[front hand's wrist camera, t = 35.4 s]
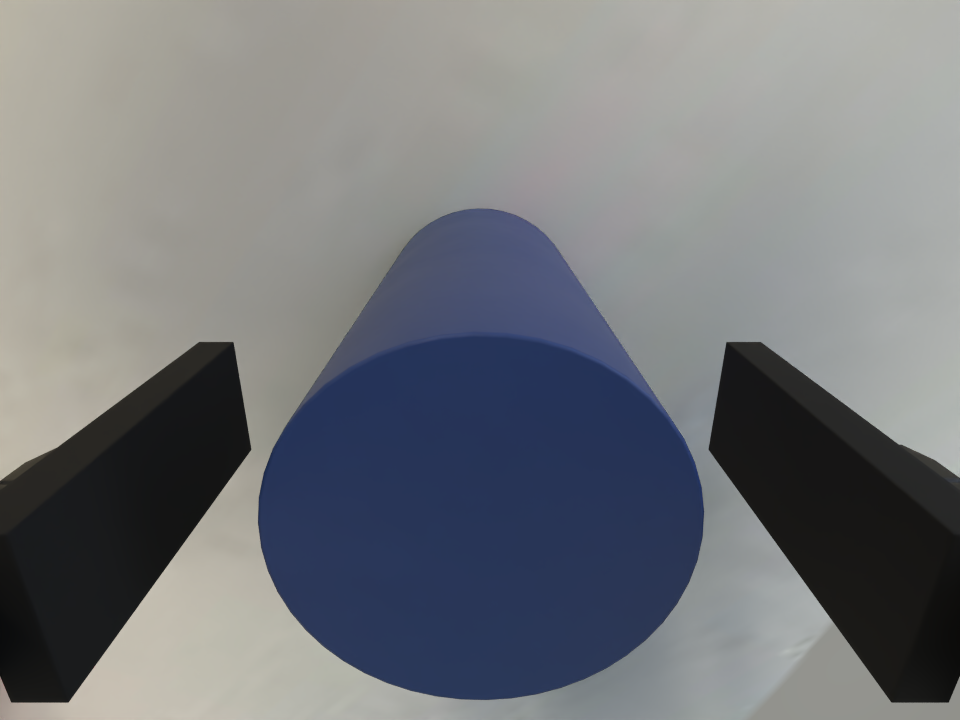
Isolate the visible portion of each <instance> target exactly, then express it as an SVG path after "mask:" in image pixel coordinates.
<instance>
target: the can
mask: <svg viewBox="0 0 960 720" xmlns="http://www.w3.org/2000/svg"><path fill="white" fill-rule="evenodd" d="M703 519H704V507H703V497H702V488H701V484H700V480H699V476H698V472H697V469H696V465H695V462H694V460H693V457H692V455H691V453H690V451H689V449H688V446H687V444H686V442H685V440H684V438H683V436H682V435H681V433H680V432H679V430H678V429H677V427H676V426H675V424H674V423H673V421H672V420H671V418H670V417H669V415H668V414H667V412H666V411H665V409H664V408H663V406H662V405H661V403H660V402H659V400H658V399H657V397H656V396H655V394H654V393H653V391H652V390H651V388H650V387H649V385H648V384H647V382H646V381H645V379H644V378H643V376H642V375H641V373H640V372H639V370H638V369H637V367H636V366H635V364H634V363H633V361H632V360H631V358H630V357H629V355H628V354H627V352H626V351H625V349H624V348H623V346H622V345H621V344H620V342H619V341H618V339H617V338H616V336H615V335H614V333H613V332H612V330H611V329H610V327H609V326H608V324H607V323H606V321H605V320H604V318H603V317H602V315H601V314H600V312H599V311H598V309H597V308H596V306H595V305H594V303H593V302H592V300H591V299H590V297H589V296H588V294H587V293H586V291H585V290H584V288H583V287H582V285H581V284H580V282H579V281H578V279H577V278H576V276H575V275H574V273H573V272H572V270H571V269H570V267H569V266H568V264H567V263H566V261H565V260H564V258H563V257H562V255H561V254H560V252H559V251H558V249H557V248H556V246H555V245H554V244H553V243H552V241H551V240H550V239H549V238H548V237H547V236H546V235H545V234H544V233H543V232H542V231H540V230H539V229H538V228H537V227H536V226H534V225H532V224H531V223H529V222H528V221H526V220H524V219H522V218H520V217H518V216H516V215H513V214H510V213H507V212H503V211H498V210H492V209H469V210H462V211H458V212H454V213H451V214H448V215H446V216H443V217H440V218H439V219H437V220H435V221H433V222H431V223H430V224H428V225H427V226H425V227H424V228H423V229H421V230H420V231H419V232H418V233H417V234H416V235H415V236H414V237H413V238H412V239H411V240H410V241H409V242H408V244H407V245H406V246H405V248H404V249H403V250H402V252H401V253H400V255H399V256H398V258H397V259H396V261H395V262H394V264H393V265H392V267H391V268H390V270H389V271H388V273H387V274H386V276H385V277H384V279H383V280H382V282H381V283H380V285H379V286H378V288H377V289H376V291H375V292H374V294H373V295H372V297H371V298H370V300H369V302H368V303H367V305H366V306H365V308H364V309H363V311H362V312H361V314H360V315H359V317H358V318H357V320H356V321H355V323H354V324H353V326H352V327H351V329H350V330H349V332H348V333H347V335H346V336H345V338H344V339H343V341H342V342H341V344H340V345H339V347H338V348H337V350H336V351H335V353H334V354H333V356H332V357H331V359H330V360H329V362H328V363H327V365H326V366H325V368H324V369H323V371H322V372H321V374H320V375H319V377H318V378H317V380H316V381H315V383H314V384H313V386H312V387H311V389H310V390H309V392H308V393H307V395H306V396H305V398H304V399H303V401H302V402H301V404H300V405H299V407H298V408H297V410H296V411H295V413H294V414H293V416H292V417H291V419H290V421H289V422H288V424H287V425H286V427H285V428H284V430H283V432H282V434H281V435H280V437H279V439H278V441H277V443H276V444H275V446H274V448H273V450H272V453H271V455H270V458H269V461H268V463H267V466H266V469H265V471H264V475H263V480H262V485H261V490H260V495H259V511H258V525H259V533H260V541H261V548H262V552H263V555H264V559H265V562H266V566H267V569H268V572H269V574H270V576H271V578H272V581H273V583H274V585H275V587H276V589H277V592H278V593H279V595H280V596H281V598H282V599H283V601H284V603H285V604H286V606H287V607H288V609H289V610H290V612H291V613H292V614H293V616H294V617H295V618H296V619H297V620H298V621H299V623H300V624H301V625H302V626H303V627H304V629H305V630H306V631H307V632H308V633H309V634H311V635H312V636H313V637H314V638H315V639H316V640H317V641H318V642H319V643H320V644H321V645H322V646H324V647H325V648H326V649H328V650H329V651H330V652H332V653H333V654H334V655H336V656H337V657H339V658H340V659H341V660H343V661H344V662H346V663H348V664H350V665H351V666H353V667H355V668H357V669H358V670H360V671H362V672H364V673H366V674H368V675H370V676H372V677H375V678H377V679H379V680H381V681H384V682H386V683H389V684H392V685H395V686H398V687H401V688H404V689H407V690H410V691H414V692H419V693H423V694H428V695H433V696H438V697H446V698H455V699H470V700H493V699H508V698H516V697H522V696H528V695H535V694H539V693H543V692H547V691H551V690H554V689H558V688H562V687H564V686H567V685H570V684H572V683H575V682H578V681H580V680H583V679H585V678H587V677H589V676H591V675H594V674H596V673H598V672H600V671H602V670H604V669H606V668H607V667H609V666H611V665H612V664H614V663H615V662H617V661H618V660H620V659H622V658H623V657H625V656H626V655H628V654H629V653H630V652H631V651H633V650H634V649H635V648H636V647H638V646H639V645H640V644H641V643H643V642H644V641H645V640H646V639H647V638H648V637H649V636H650V635H651V634H652V633H653V632H654V631H655V630H656V629H657V628H658V627H659V626H660V625H661V624H662V623H663V622H664V620H665V619H666V618H667V616H668V615H669V614H670V612H671V611H672V610H673V608H674V607H675V606H676V604H677V603H678V601H679V599H680V598H681V596H682V594H683V592H684V590H685V589H686V587H687V585H688V583H689V581H690V578H691V576H692V573H693V571H694V568H695V565H696V563H697V560H698V555H699V551H700V546H701V541H702V536H703Z"/></svg>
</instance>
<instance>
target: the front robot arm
mask: <svg viewBox="0 0 960 720" xmlns="http://www.w3.org/2000/svg"><path fill="white" fill-rule="evenodd" d="M250 451H251V445H250V439H249V433H248V427H247V421H246V415H245V409H244V403H243V397H242V391H241V385H240V379H239V373H238V367H237V361H236V355H235V349H234V343H233V342H199V343H197V344H196V345H195V346H193V347H192V348H191V349H189V350H188V351H187V352H185V353H184V354H183V355H181V356H180V357H179V358H177V359H176V360H175V361H173V362H172V363H171V364H169V365H168V366H166V367H165V368H164V369H162V370H161V371H160V372H158V373H157V374H156V375H154V376H153V377H152V378H150V379H149V380H148V381H146V382H145V383H144V384H142V385H141V386H140V387H138V388H137V389H136V390H134V391H133V392H132V393H130V394H129V395H127V396H126V397H125V398H123V399H122V400H121V401H119V402H118V403H117V404H115V405H114V406H113V407H111V408H110V409H109V410H107V411H106V412H105V413H103V414H102V415H101V416H99V417H98V418H97V419H95V420H94V421H92V422H91V423H90V424H88V425H87V426H86V427H84V428H83V429H82V430H80V431H79V432H78V433H76V434H75V435H74V436H72V437H71V438H70V439H68V440H67V441H66V442H64V443H63V444H62V445H60V446H59V447H57V448H56V449H53V450H51V451H49V452H47V453H45V454H43V455H41V456H38V457H36V458H34V459H32V460H30V461H28V462H26V463H24V464H23V465H21V466H20V467H19V468H17V469H16V470H15V471H13V472H12V473H10V474H9V475H8V476H6V477H5V478H4V479H2V480H1V481H0V677H1V679H2V681H3V684H4V686H5V689H6V691H7V693H8V696H9V698H10V700H11V702H69V701H70V700H71V698H72V697H73V695H74V694H75V693H76V691H77V690H78V689H79V687H80V686H81V684H82V683H83V682H84V680H85V679H86V677H87V676H88V675H89V673H90V672H91V671H92V669H93V668H94V666H95V665H96V664H97V662H98V661H99V659H100V658H101V657H102V655H103V654H104V653H105V651H106V650H107V648H108V647H109V646H110V644H111V643H112V642H113V640H114V639H115V637H116V636H117V635H118V633H119V632H120V630H121V629H122V628H123V626H124V625H125V624H126V622H127V621H128V619H129V618H130V617H131V615H132V614H133V612H134V611H135V610H136V608H137V607H138V606H139V604H140V603H141V601H142V600H143V599H144V597H145V596H146V595H147V593H148V592H149V590H150V589H151V588H152V586H153V585H154V583H155V582H156V581H157V579H158V578H159V577H160V575H161V574H162V572H163V571H164V570H165V568H166V567H167V565H168V564H169V563H170V561H171V560H172V559H173V557H174V556H175V554H176V553H177V552H178V550H179V549H180V548H181V546H182V545H183V543H184V542H185V541H186V539H187V538H188V536H189V535H190V534H191V532H192V531H193V530H194V528H195V527H196V525H197V524H198V523H199V521H200V520H201V518H202V517H203V516H204V514H205V513H206V512H207V510H208V509H209V507H210V506H211V505H212V503H213V502H214V501H215V499H216V498H217V496H218V495H219V494H220V492H221V491H222V489H223V488H224V487H225V485H226V484H227V483H228V481H229V480H230V478H231V477H232V476H233V474H234V473H235V472H236V470H237V469H238V467H239V466H240V465H241V463H242V462H243V460H244V459H245V458H246V456H247V455H248V454H249V452H250ZM709 451H710V452H711V454H712V455H713V456H714V458H715V459H716V460H717V462H718V463H719V465H720V466H721V467H722V469H723V470H724V472H725V473H726V474H727V476H728V477H729V478H730V480H731V481H732V483H733V484H734V485H735V487H736V488H737V489H738V491H739V492H740V494H741V495H742V496H743V498H744V499H745V501H746V502H747V503H748V505H749V506H750V507H751V509H752V510H753V512H754V513H755V514H756V516H757V517H758V519H759V520H760V521H761V523H762V524H763V525H764V527H765V528H766V530H767V531H768V532H769V534H770V535H771V536H772V538H773V539H774V541H775V542H776V543H777V545H778V546H779V548H780V549H781V550H782V552H783V553H784V554H785V556H786V557H787V559H788V560H789V561H790V563H791V564H792V566H793V567H794V568H795V570H796V571H797V572H798V574H799V575H800V577H801V578H802V579H803V581H804V582H805V583H806V585H807V586H808V588H809V589H810V590H811V592H812V593H813V595H814V596H815V597H816V599H817V600H818V601H819V603H820V604H821V606H822V607H823V608H824V610H825V611H826V613H827V614H828V615H829V617H830V618H831V619H832V621H833V622H834V624H835V625H836V626H837V628H838V629H839V630H840V632H841V633H842V635H843V636H844V637H845V639H846V640H847V642H848V643H849V644H850V646H851V647H852V648H853V650H854V651H855V653H856V654H857V655H858V657H859V658H860V659H861V661H862V662H863V664H864V665H865V666H866V668H867V669H868V671H869V672H870V673H871V675H872V676H873V677H874V679H875V680H876V682H877V683H878V684H879V686H880V687H881V689H882V690H883V691H884V693H885V694H886V695H887V697H888V698H889V700H890V701H891V702H949V700H950V698H951V696H952V693H953V691H954V688H955V686H956V684H957V681H958V679H959V677H960V478H959V477H958V476H956V475H955V474H953V473H952V472H951V471H949V470H948V469H946V468H945V467H944V466H942V465H941V464H939V463H938V462H937V461H935V460H933V459H931V458H929V457H927V456H925V455H922V454H920V453H918V452H916V451H914V450H912V449H910V448H907V447H905V446H903V445H898V444H897V443H896V442H894V441H893V440H892V439H890V438H889V437H888V436H886V435H885V434H884V433H882V432H881V431H880V430H878V429H877V428H876V427H874V426H873V425H872V424H870V423H869V422H868V421H866V420H865V419H863V418H862V417H861V416H859V415H858V414H857V413H855V412H854V411H853V410H851V409H850V408H849V407H847V406H846V405H845V404H843V403H842V402H841V401H839V400H838V399H837V398H835V397H834V396H833V395H831V394H830V393H828V392H827V391H826V390H824V389H823V388H822V387H820V386H819V385H818V384H816V383H815V382H814V381H812V380H811V379H810V378H808V377H807V376H806V375H804V374H803V373H802V372H800V371H799V370H798V369H796V368H795V367H793V366H792V365H791V364H789V363H788V362H787V361H785V360H784V359H783V358H781V357H780V356H779V355H777V354H776V353H775V352H773V351H772V350H771V349H769V348H768V347H767V346H765V345H764V344H763V343H761V342H727V343H726V349H725V355H724V361H723V367H722V373H721V379H720V385H719V391H718V397H717V403H716V408H715V414H714V420H713V426H712V432H711V438H710V444H709Z"/></svg>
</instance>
